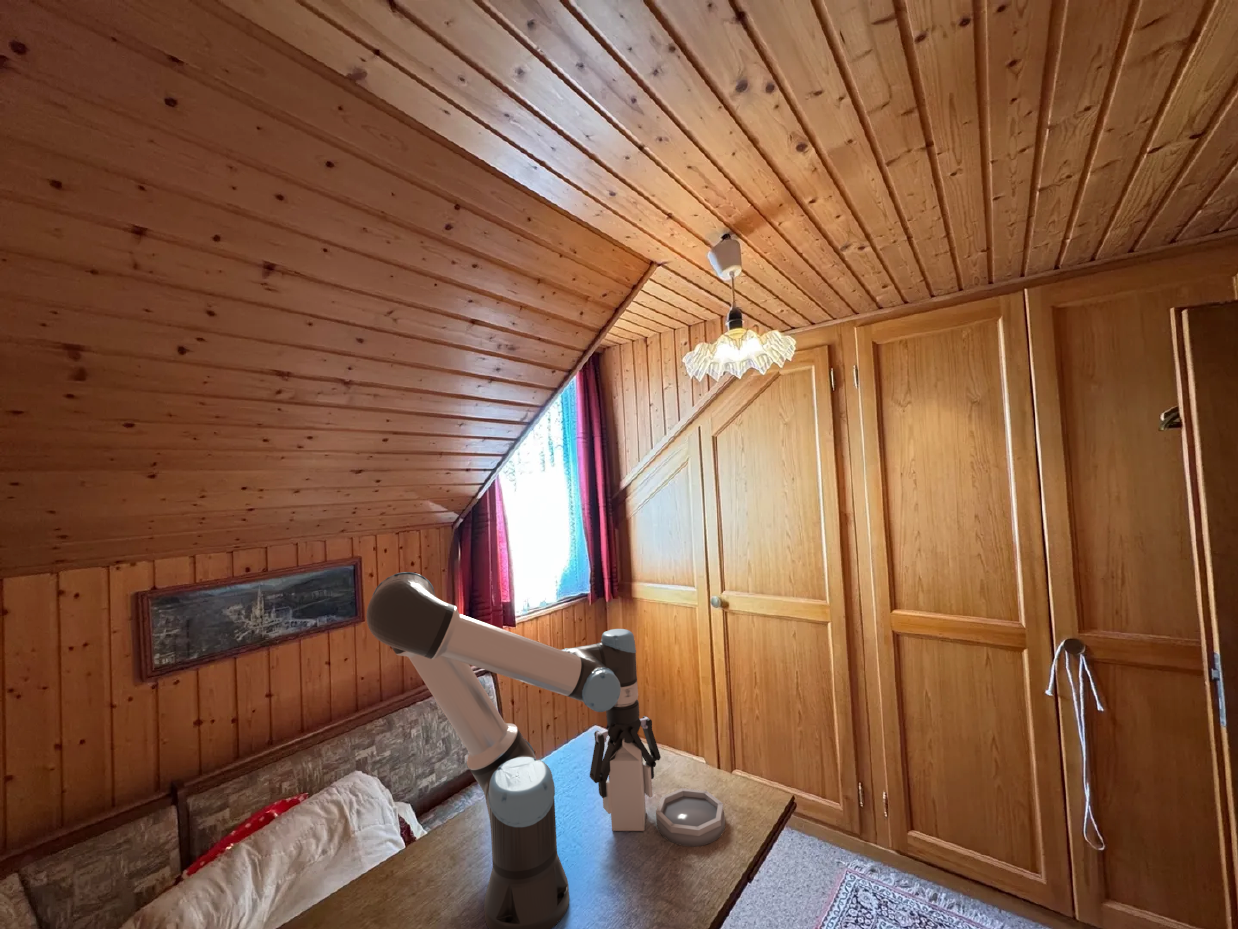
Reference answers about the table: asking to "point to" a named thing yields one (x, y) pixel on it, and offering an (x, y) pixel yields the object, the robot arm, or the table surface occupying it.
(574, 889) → the table surface
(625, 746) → the milk carton
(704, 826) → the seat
